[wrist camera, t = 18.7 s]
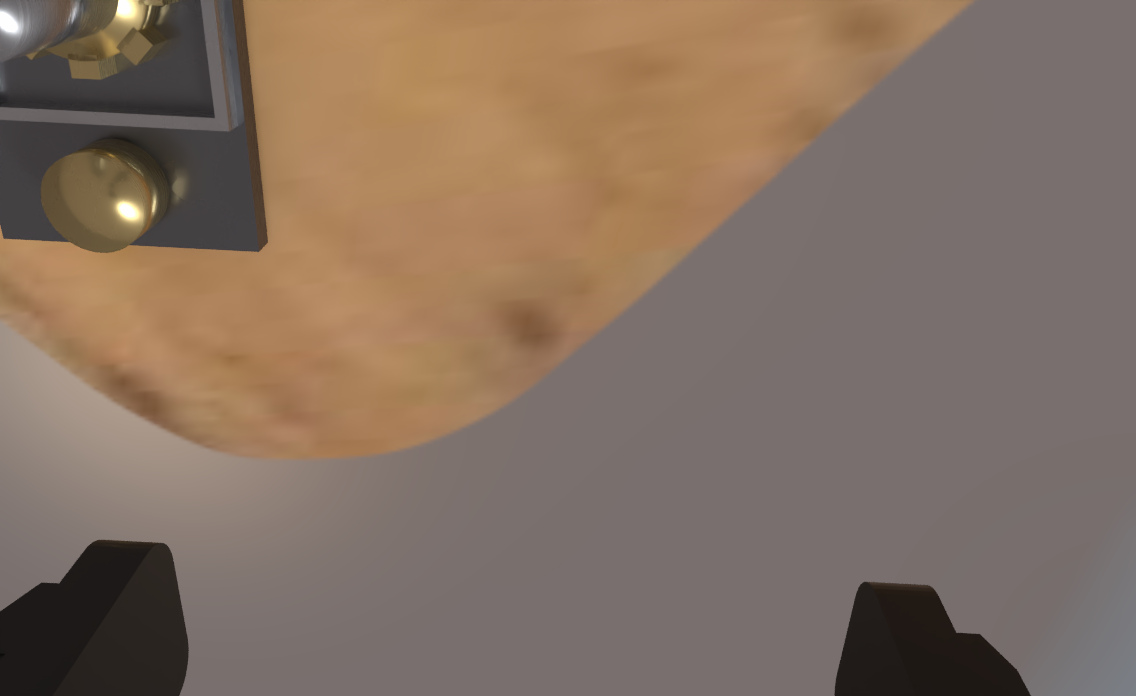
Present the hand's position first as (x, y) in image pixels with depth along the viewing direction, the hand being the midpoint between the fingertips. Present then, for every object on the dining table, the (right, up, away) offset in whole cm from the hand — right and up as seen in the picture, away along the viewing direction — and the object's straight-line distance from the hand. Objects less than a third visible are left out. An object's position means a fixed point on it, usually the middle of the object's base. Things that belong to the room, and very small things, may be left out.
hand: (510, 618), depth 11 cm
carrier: (-18, +15, +27) cm, 35 cm away
